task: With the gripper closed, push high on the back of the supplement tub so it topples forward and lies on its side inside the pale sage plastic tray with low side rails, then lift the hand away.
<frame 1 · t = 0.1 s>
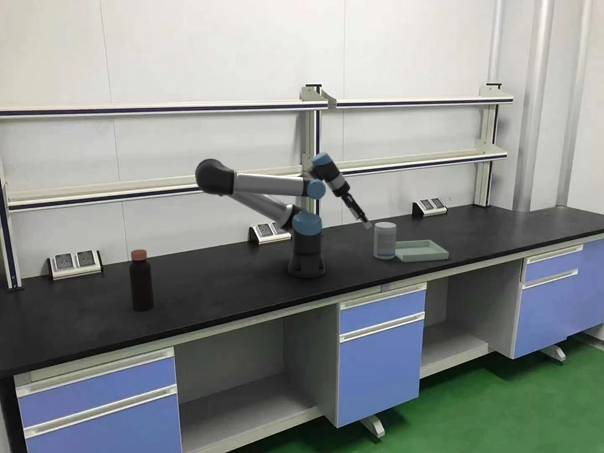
hand: (364, 222, 214), 15 cm above the countertop, tool tilted 35°, fingers open, 13 cm apart
supplement tub: (383, 256, 219), on the countertop
tray: (417, 254, 222), on the countertop
bottle: (143, 307, 167), on the countertop
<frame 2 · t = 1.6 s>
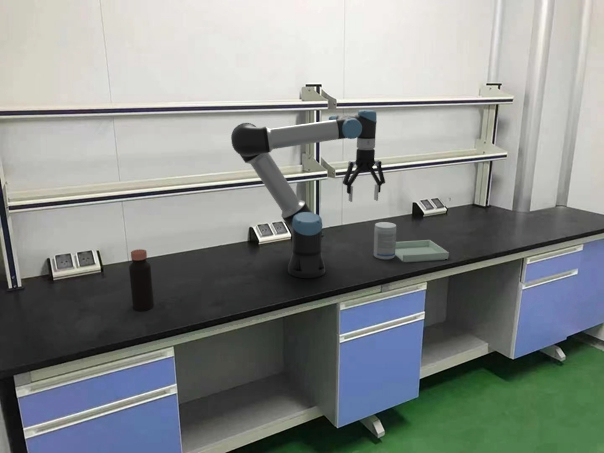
hand: (363, 200, 209), 26 cm above the countertop, tool pointing down, fingers open, 11 cm apart
nothing on the countertop moved.
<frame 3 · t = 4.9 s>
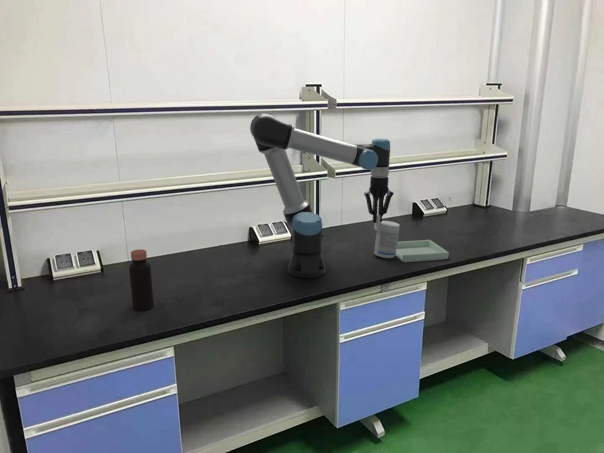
hand: (376, 229, 214), 13 cm above the countertop, tool pointing down, fingers closed
supplement tub: (383, 255, 218), on the countertop, touching gripper
everything else where it was.
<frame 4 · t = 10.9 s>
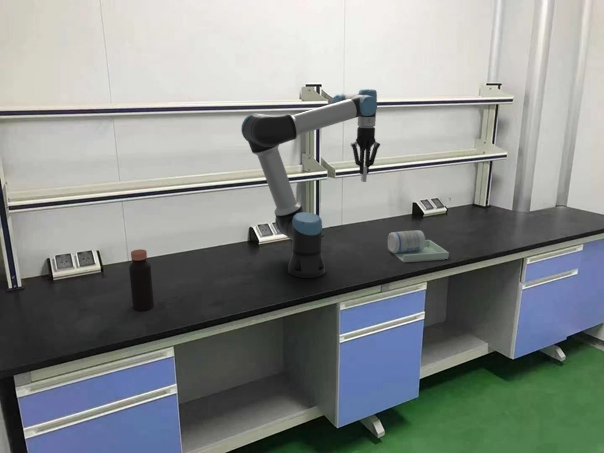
hand: (363, 181, 216), 32 cm above the countertop, tool pointing down, fingers closed
supplement tub: (390, 242, 221), point 5 cm above the countertop, touching tray
everything else where it was.
at the end: supplement tub tilted 90°; supplement tub touching tray; supplement tub inside the target area (9.4 cm from its centre), point 5.1 cm above the countertop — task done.
